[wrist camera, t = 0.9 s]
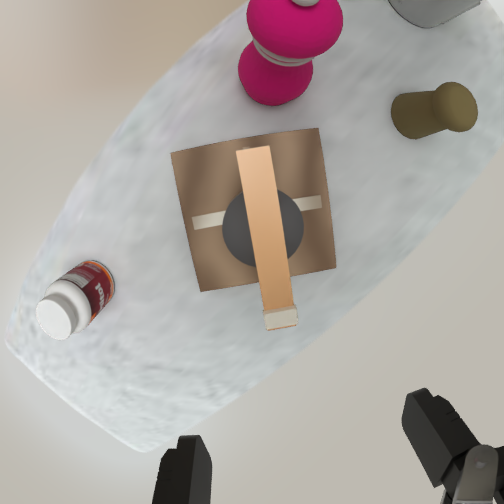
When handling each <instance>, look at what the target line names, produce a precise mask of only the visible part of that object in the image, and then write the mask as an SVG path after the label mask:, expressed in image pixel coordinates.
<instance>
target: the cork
mask: <svg viewBox="0 0 504 504" xmlns="http://www.w3.org/2000/svg"><path fill="white" fill-rule="evenodd" d="M477 116H478V109H477V104H476V101H475V99H474V97H473V95H472V93H471V92H470V91H469V90H468V89H467V88H466V87H464V86H463V85H461V84H459V83H456V82H447V83H444V84H442V85H440V86H439V87H438V88H437V89H436V90H435V91H424V92H413V93H405V94H400V95H399V96H397V97H396V98H395V100H394V101H393V103H392V107H391V117H392V120H393V123H394V125H395V127H396V128H397V130H398V131H399V132H400V133H401V134H402V135H403V136H405V137H407V138H409V139H419V138H422V137H425V136H428V135H431V134H434V133H436V132H439V131H442V130H445V129H449V130H451V131H455V132H464V131H467V130H469V129H471V128H472V127H473V126H474V124H475V122H476V120H477Z"/></svg>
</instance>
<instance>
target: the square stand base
mask: <svg viewBox="0 0 504 504" xmlns="http://www.w3.org/2000/svg"><path fill="white" fill-rule="evenodd" d="M263 146H270V152H271V158H272V164H273V169H274V175H275V181H276V187H277V189H278V190H280V191H282V192H283V193H285V194H286V195H288V196H289V197H290V198H291V199H292V200H293V201H294V202H295V203H296V204H297V206H298V207H299V209H300V211H301V214H302V217H303V221H304V233H303V238H302V241H301V243H300V245H299V247H298V249H297V250H296V252H295V253H294V254H293V255H292V256H291V257H290V258H289V259H288V266H289V273H290V277H291V276H296V275H302V274H307V273H312V272H318V271H323V270H328V269H333V268H336V258H335V247H334V237H333V228H332V219H331V210H330V202H329V194H328V187H327V179H326V172H325V166H324V159H323V153H322V147H321V141H320V135H319V129H318V128H313V129H304V130H295V131H287V132H280V133H273V134H266V135H259V136H253V137H247V138H241V139H235V140H230V141H224V142H219V143H214V144H209V145H204V146H199V147H195V148H190V149H186V150H181V151H177V152H173V153H170V154H171V159H172V164H173V170H174V175H175V180H176V185H177V190H178V195H179V200H180V205H181V210H182V214H183V219H184V224H185V228H186V233H187V237H188V242H189V246H190V250H191V255H192V259H193V263H194V267H195V271H196V275H197V279H198V283H199V287H200V291H201V292H203V291H209V290H216V289H222V288H228V287H234V286H240V285H245V284H251V283H257V282H259V278H258V272H257V267H253V266H249V265H247V264H244V263H242V262H241V261H239V260H238V259H237V258H235V257H234V256H233V255H232V254H231V252H230V251H229V250H228V248H227V246H226V244H225V242H224V238H223V233H222V223H223V218H224V215H225V212H226V209H227V207H228V205H229V204H230V202H231V201H232V199H233V198H234V197H235V196H236V195H238V194H239V193H240V192H242V191H243V188H242V183H241V177H240V172H239V166H238V160H237V155H236V151H239V150H244V149H250V148H256V147H263Z"/></svg>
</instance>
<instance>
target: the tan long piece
mask: <svg viewBox="0 0 504 504" xmlns="http://www.w3.org/2000/svg"><path fill="white" fill-rule="evenodd" d="M236 155H237V160H238V166H239V172H240V177H241V183H242V188H243V191H242V192H240V193H239V194H238V195H236V196H235V197H234V198H233V199H232V201H231V202H230V204H229V205H228V207H227V209H226V212H225V215H224V218H223V223H222V233H223V238H224V242H225V244H226V246H227V248H228V250H229V251H230V252H231V254H232V255H233V256H234V257H235V258H237V259H238V260H239V261H241V262H242V263H244V264H247V265H249V266H253V267H257V272H258V278H259V283H260V289H261V295H262V300H263V306H264V310H263V315H264V321H265V326H266V330H268V331H269V330H275V329H280V328H286V327H291V326H296V324H298V316H297V308H296V306H295V305H294V303H293V295H292V288H291V281H290V273H289V266H288V259H289V258H290V257H291V256H292V255H293V254H294V253H295V252H296V250H297V249H298V247H299V245H300V243H301V241H302V238H303V233H304V221H303V217H302V214H301V211H300V209H299V207H298V206H297V204H296V203H295V202H294V201H293V200H292V199H291V198H290V197H289V196H288V195H286V194H285V193H283V192H282V191H280V190H278V189H277V187H276V181H275V175H274V169H273V164H272V158H271V152H270V146H263V147H256V148H250V149H244V150H239V151H236Z"/></svg>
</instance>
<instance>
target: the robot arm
mask: <svg viewBox="0 0 504 504" xmlns="http://www.w3.org/2000/svg"><path fill="white" fill-rule="evenodd" d="M389 1H390V3H391V4H392V6H393V7H394V8H395V10H396V11H397V12H398V13H399V14H400V15H401V16H403V17H404V18H405V19H407V20H408V21H409V22H411V23H413V24H415V25H417V26H420V27H424V28H432V27H435V26H437V25H438V24H440V23H441V24H444V23H446V22H448V21H450V20H451V19H453V18H455V17H457V16H459V15H461V14H462V13H464V12H466V11H468V10H470V9H472V8H474V7H476V6H478V5H479V4H480V1H482V0H389ZM402 427H403V430H404V432H405V434H406V435H407V437H408V439H409V441H410V443H411V445H412V447H413V449H414V450H415V452H416V454H417V456H418V457H419V459H420V462H421V463H422V466H423V467H424V469H425V471H426V473H427V475H428V477H429V479H430V481H431V483H432V485H433V487H434V488H435V487H437V486H440V485H442V484H443V485H444V487H445V490H444V493H443V496H442V500H441V503H440V504H492V501H493V497H494V499H495V501H496V503H497V504H504V446H502V447H499V448H493V447H492V446H489V445H481V444H480V443H479V442H478V441H477V439H476V438H475V436H474V435H473V434H472V432H471V431H470V430H469V428H468V427H467V425H466V424H465V423H464V421H463V420H462V418H460V416H459V414H458V413H457V412H455V409H454V408H453V406H452V405H451V404H450V402H449V401H447V400H446V399H444V398H442V397H441V396H439V395H437V396H435V397H433V396H432V395H431V393H430V392H429V390H428V389H426V388H422V389H419V390H417V391H414V392H412V393H409V394H407V396H406V401H405V405H404V410H403V414H402ZM211 480H212V461H211V457H210V455H209V453H208V451H207V449H206V447H205V445H204V443H203V440H202V438H201V436H200V435H187V436H180V437H179V439H178V443H177V449H168V450H167V451H166V453H165V454H164V456H163V457H162V458H161V462H160V467H159V472H158V476H157V481H156V486H155V491H154V495H153V500H152V504H210V498H211Z"/></svg>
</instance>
